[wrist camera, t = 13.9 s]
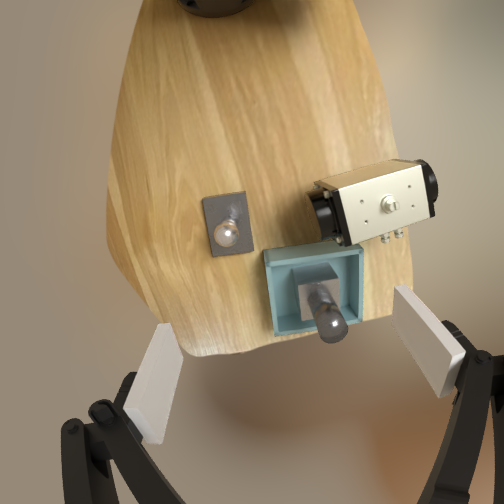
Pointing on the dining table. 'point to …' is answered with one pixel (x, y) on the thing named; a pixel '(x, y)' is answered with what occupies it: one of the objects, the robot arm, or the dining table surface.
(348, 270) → the bin
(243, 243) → the stud plate
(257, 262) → the dining table surface
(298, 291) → the block with domed cylinder
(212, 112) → the dining table surface
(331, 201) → the ball valve
